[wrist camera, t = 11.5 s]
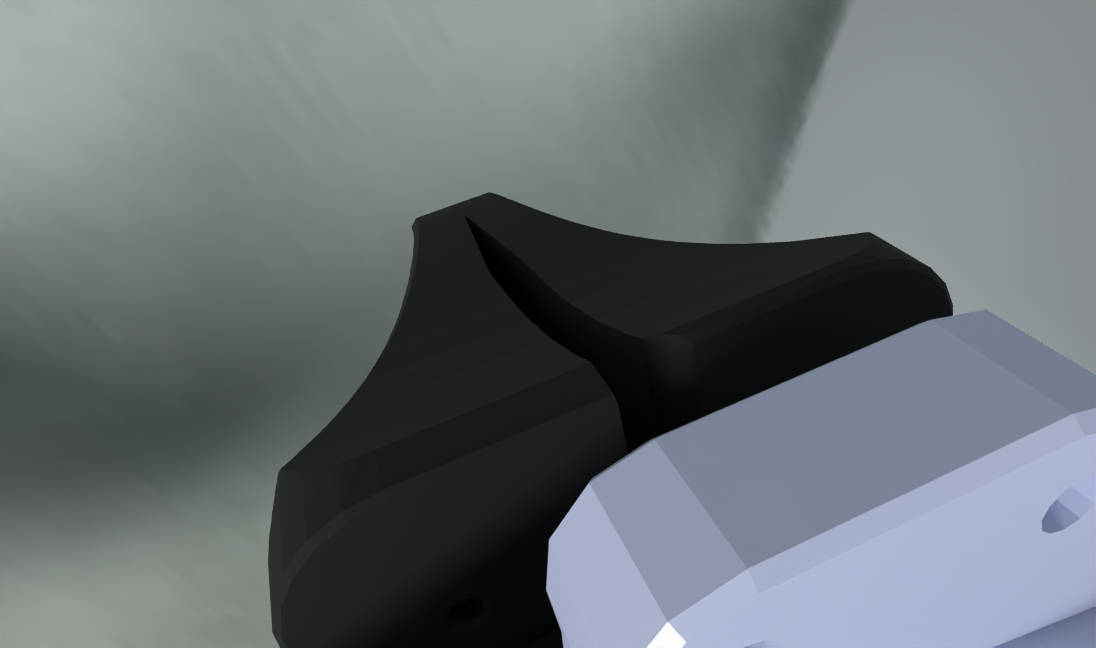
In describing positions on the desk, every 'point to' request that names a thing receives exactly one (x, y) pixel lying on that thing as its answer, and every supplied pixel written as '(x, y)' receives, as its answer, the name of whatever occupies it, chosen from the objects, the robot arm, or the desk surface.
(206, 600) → the desk surface
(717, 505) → the robot arm
